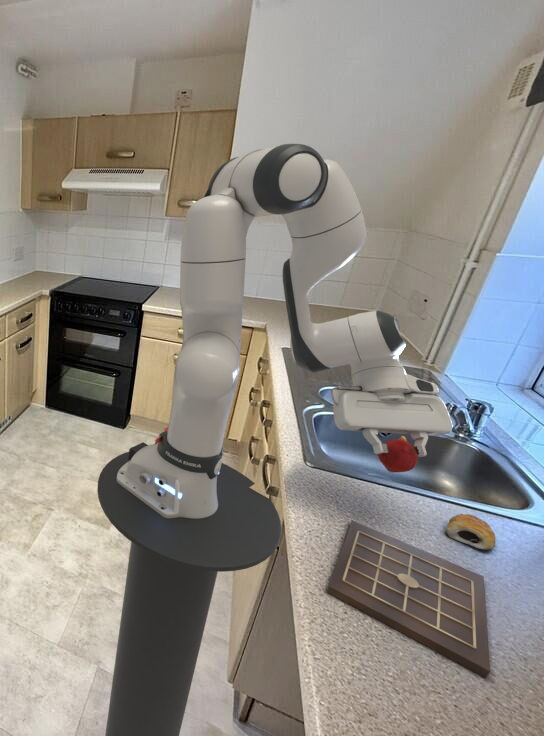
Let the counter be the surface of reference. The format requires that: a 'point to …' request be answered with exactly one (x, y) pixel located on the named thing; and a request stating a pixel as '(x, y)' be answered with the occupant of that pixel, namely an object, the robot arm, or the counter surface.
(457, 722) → the counter surface
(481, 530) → the pastry
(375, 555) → the grid board
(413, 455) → the onion
